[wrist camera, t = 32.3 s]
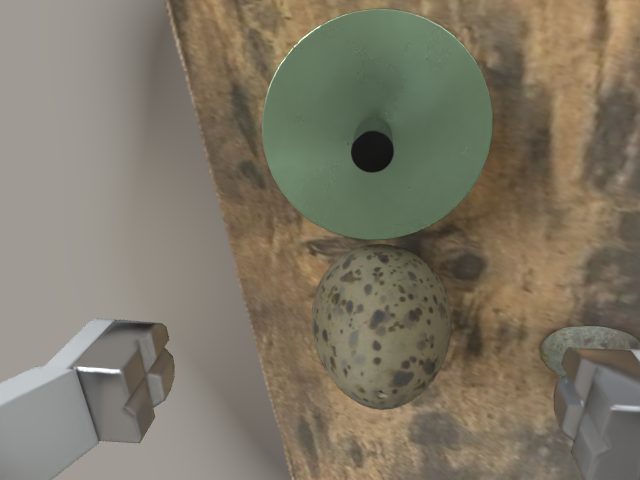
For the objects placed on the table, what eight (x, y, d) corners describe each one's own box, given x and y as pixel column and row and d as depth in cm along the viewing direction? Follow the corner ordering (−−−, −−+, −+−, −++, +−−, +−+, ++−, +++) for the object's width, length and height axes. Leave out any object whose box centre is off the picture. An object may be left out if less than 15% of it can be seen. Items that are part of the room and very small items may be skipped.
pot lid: (473, 236, 32) (489, 272, 27) (272, 230, 34) (255, 262, 29) (505, 5, 26) (532, 0, 21) (257, 12, 27) (232, 9, 23)
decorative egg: (401, 340, 44) (410, 476, 31) (303, 292, 43) (268, 412, 30) (463, 255, 39) (507, 372, 26) (355, 200, 39) (342, 292, 25)
